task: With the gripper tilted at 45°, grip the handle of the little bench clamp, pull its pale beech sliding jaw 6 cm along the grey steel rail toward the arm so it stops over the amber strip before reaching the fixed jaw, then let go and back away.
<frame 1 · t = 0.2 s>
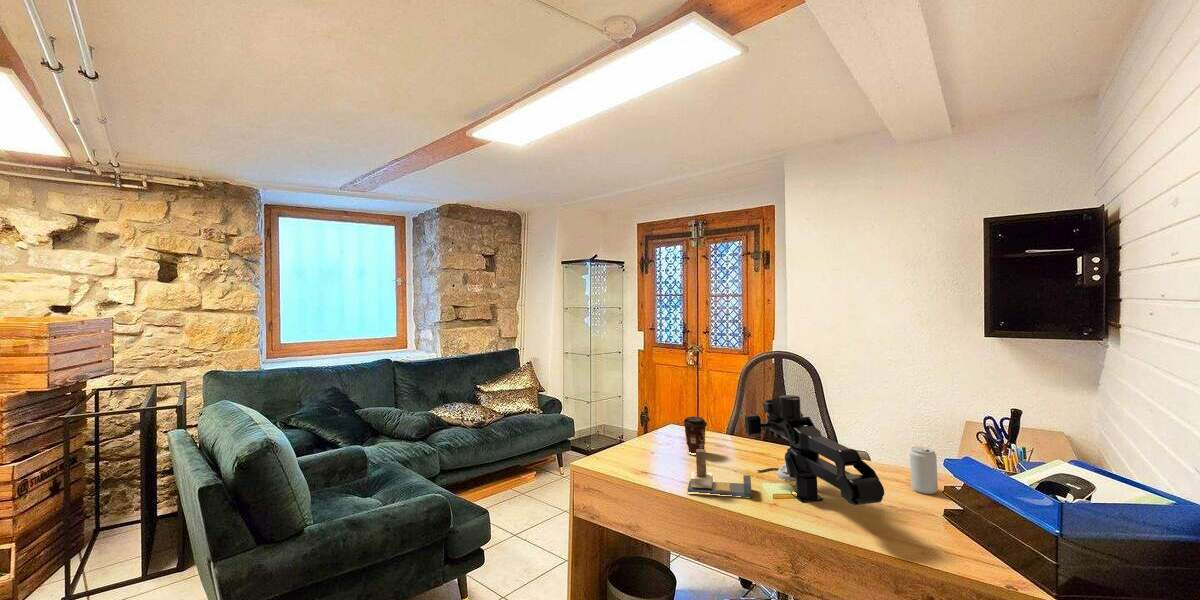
hand: (761, 418, 166), 17 cm above the table, tool horizontal, fingers open, 9 cm apart
clamp jaw: (701, 467, 148), point 7 cm above the table, slide at 0.0 cm
clamp rail: (719, 491, 147), on the table
coffee cup: (695, 454, 183), on the table
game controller: (781, 472, 162), on the table
beverage can: (924, 491, 142), on the table
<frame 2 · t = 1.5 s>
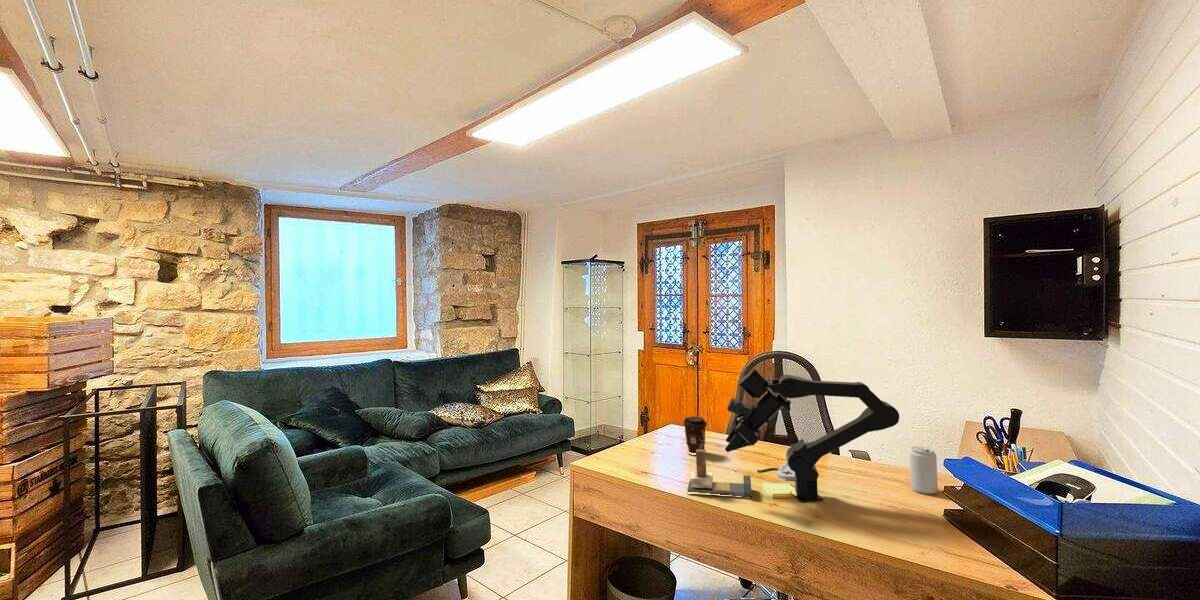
hand: (726, 445, 146), 14 cm above the table, tool tilted 45°, fingers open, 9 cm apart
nothing on the table moved.
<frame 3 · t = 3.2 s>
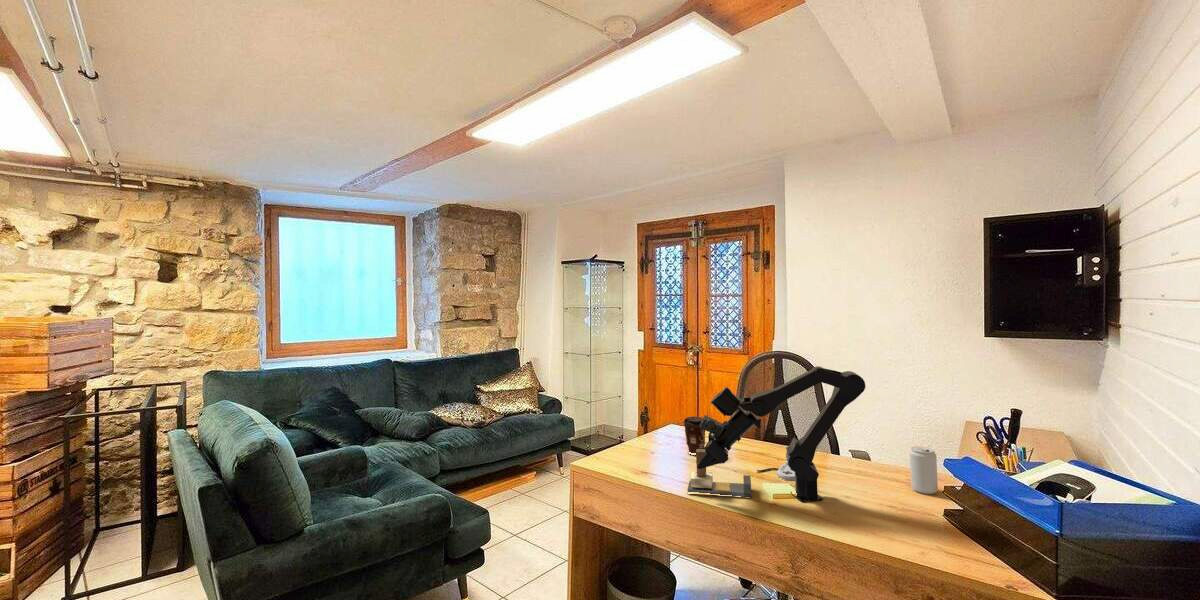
hand: (699, 462, 148), 8 cm above the table, tool tilted 45°, fingers open, 9 cm apart
nothing on the table moved.
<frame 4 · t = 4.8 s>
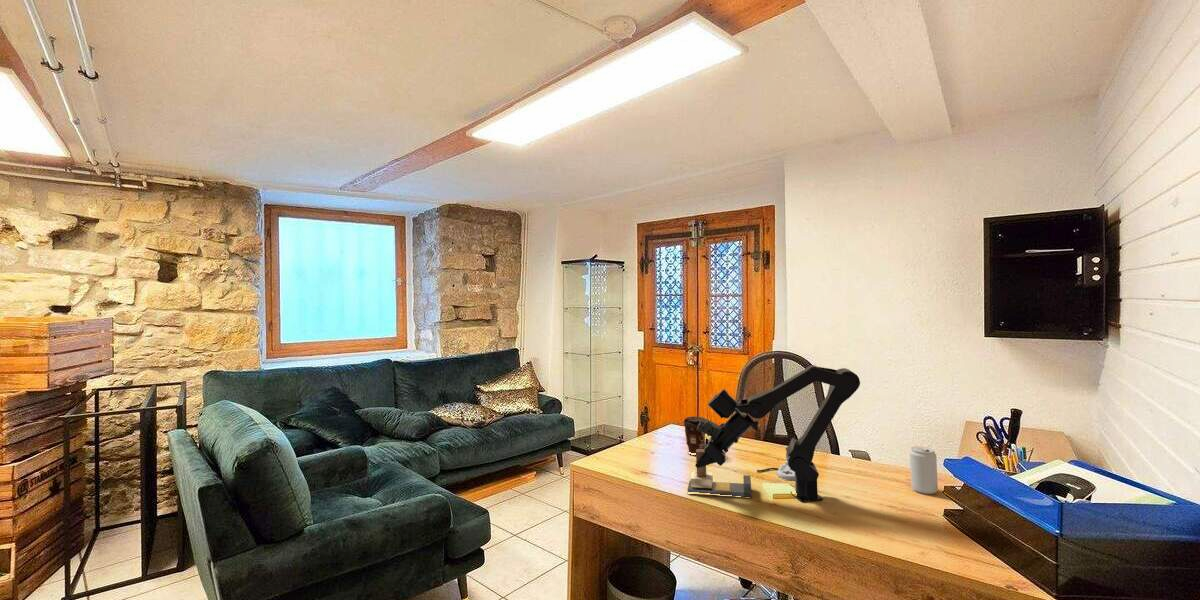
hand: (696, 465, 149), 8 cm above the table, tool tilted 45°, fingers closed on clamp jaw, 3 cm apart
clamp jaw: (701, 467, 148), point 7 cm above the table, slide at 0.0 cm, touching gripper
everything else where it was.
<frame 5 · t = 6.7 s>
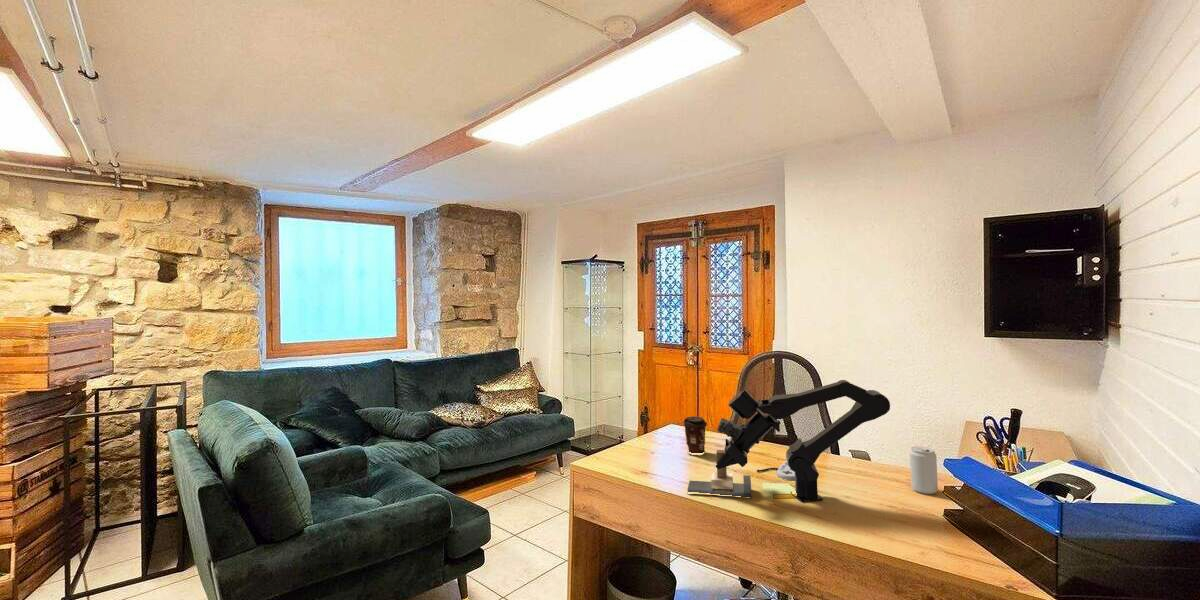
hand: (716, 466, 147), 8 cm above the table, tool tilted 45°, fingers closed on clamp jaw, 3 cm apart
clamp jaw: (721, 468, 147), point 7 cm above the table, slide at 5.9 cm, touching gripper
everything else where it was.
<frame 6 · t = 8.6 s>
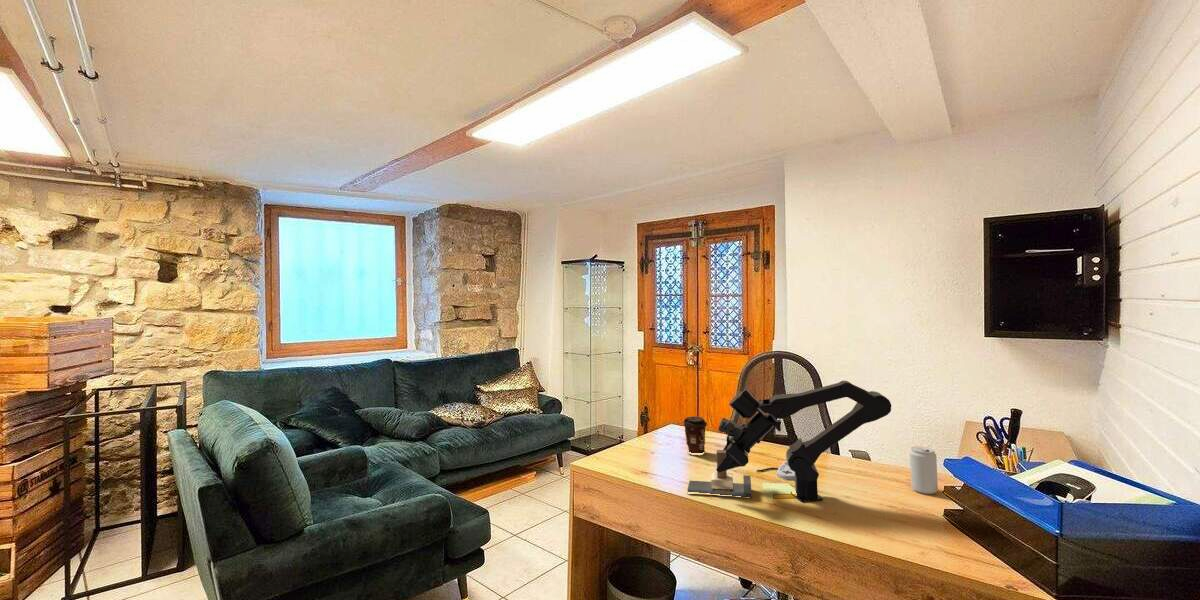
hand: (717, 465, 147), 8 cm above the table, tool tilted 45°, fingers open, 9 cm apart
clamp jaw: (721, 468, 147), point 7 cm above the table, slide at 5.9 cm
everything else where it was.
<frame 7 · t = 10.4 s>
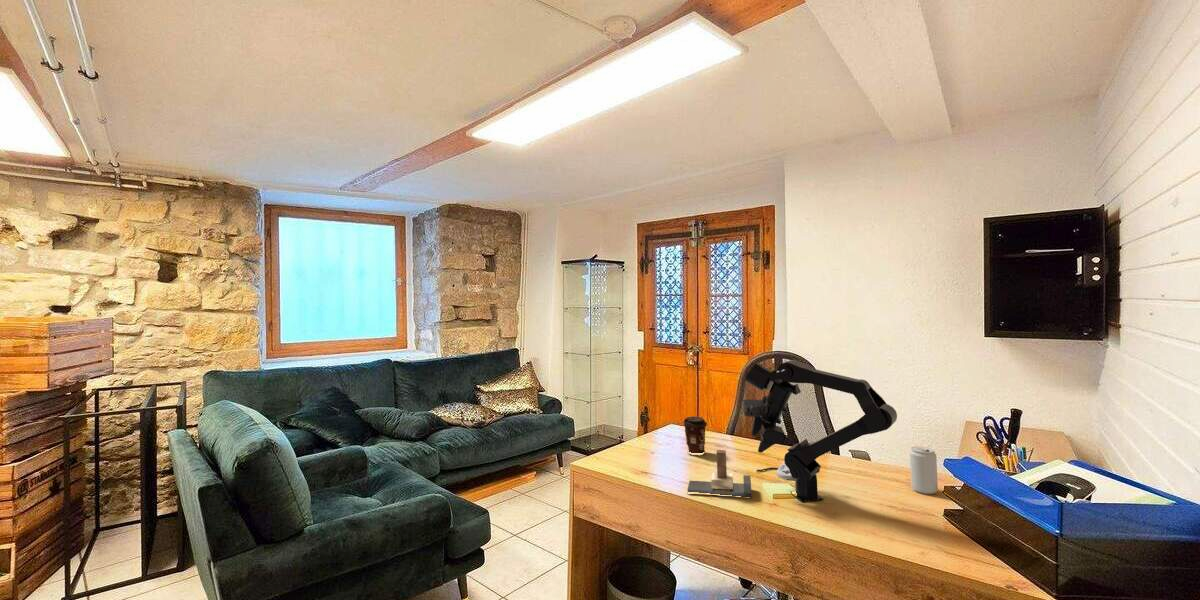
hand: (756, 443, 150), 13 cm above the table, tool tilted 25°, fingers open, 9 cm apart
nothing on the table moved.
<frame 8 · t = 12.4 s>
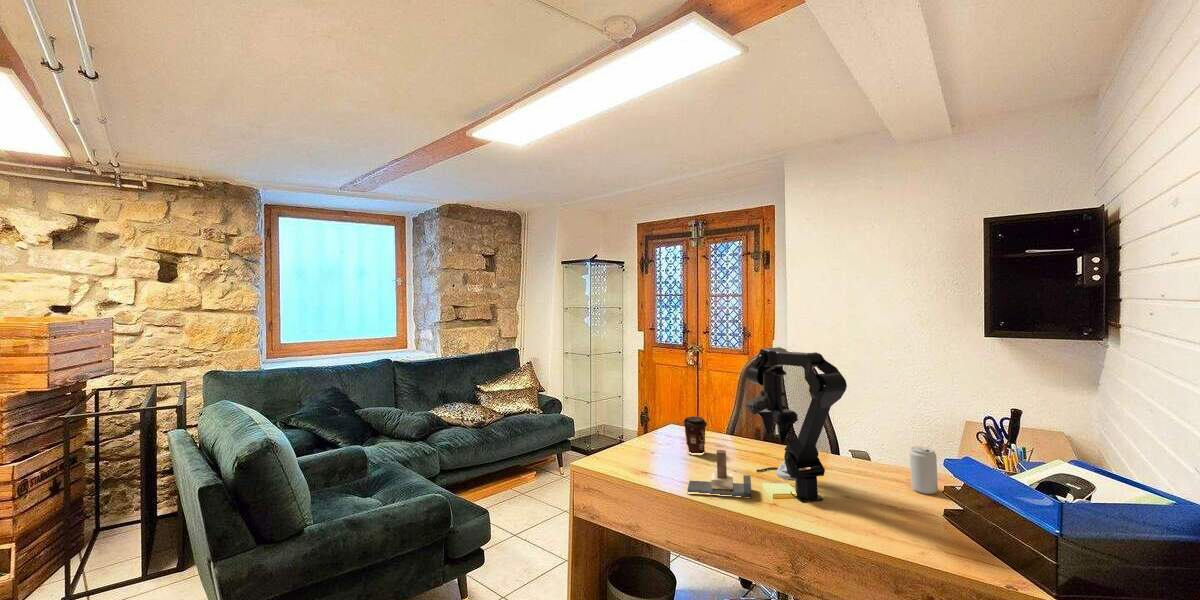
hand: (774, 438, 154), 13 cm above the table, tool pointing down, fingers open, 9 cm apart
nothing on the table moved.
at the end: clamp jaw slide at 5.9 cm; the gripper is holding nothing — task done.
